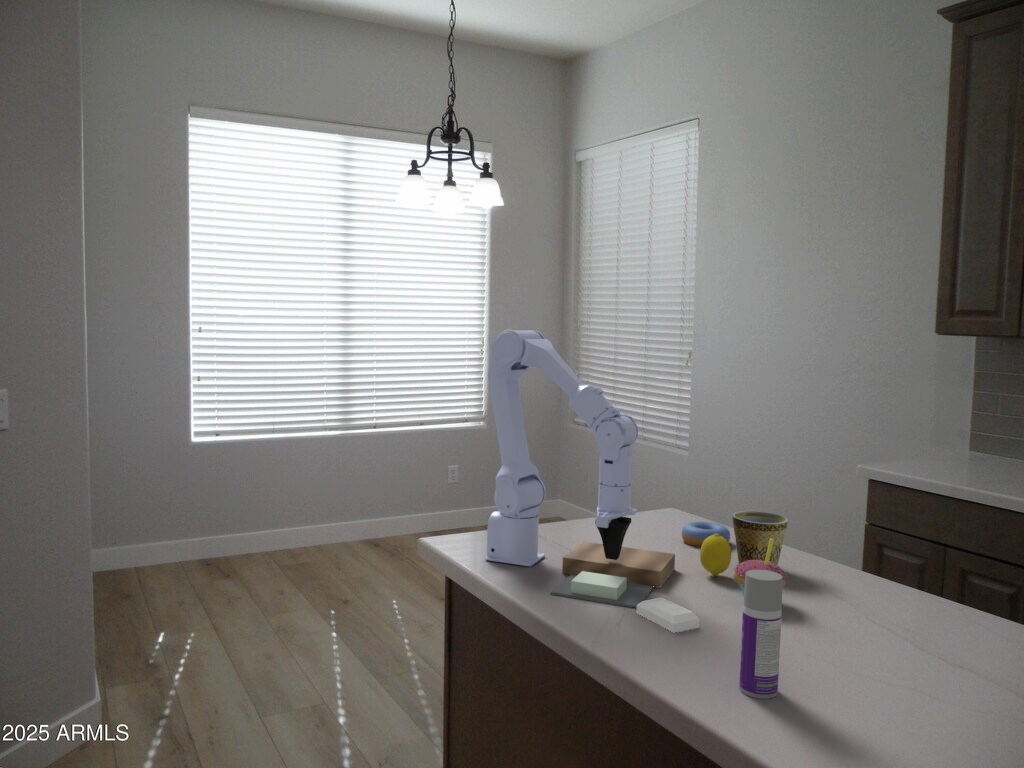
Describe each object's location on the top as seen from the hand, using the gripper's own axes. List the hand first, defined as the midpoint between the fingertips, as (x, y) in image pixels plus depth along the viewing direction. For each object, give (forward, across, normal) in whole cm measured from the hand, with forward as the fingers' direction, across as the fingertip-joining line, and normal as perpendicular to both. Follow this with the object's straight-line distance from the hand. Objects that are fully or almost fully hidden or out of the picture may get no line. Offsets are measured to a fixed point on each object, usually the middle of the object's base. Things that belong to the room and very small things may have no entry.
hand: (612, 558), depth 147 cm
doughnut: (+4, +33, -11) cm, 35 cm away
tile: (+1, -8, 0) cm, 9 cm away
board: (+4, +5, 0) cm, 6 cm away
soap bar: (+4, -16, -14) cm, 21 cm away
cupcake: (+4, 0, -26) cm, 26 cm away
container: (+4, -34, -30) cm, 46 cm away
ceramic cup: (+4, +20, -22) cm, 31 cm away
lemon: (+4, +10, -16) cm, 20 cm away
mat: (+4, -7, -1) cm, 8 cm away
